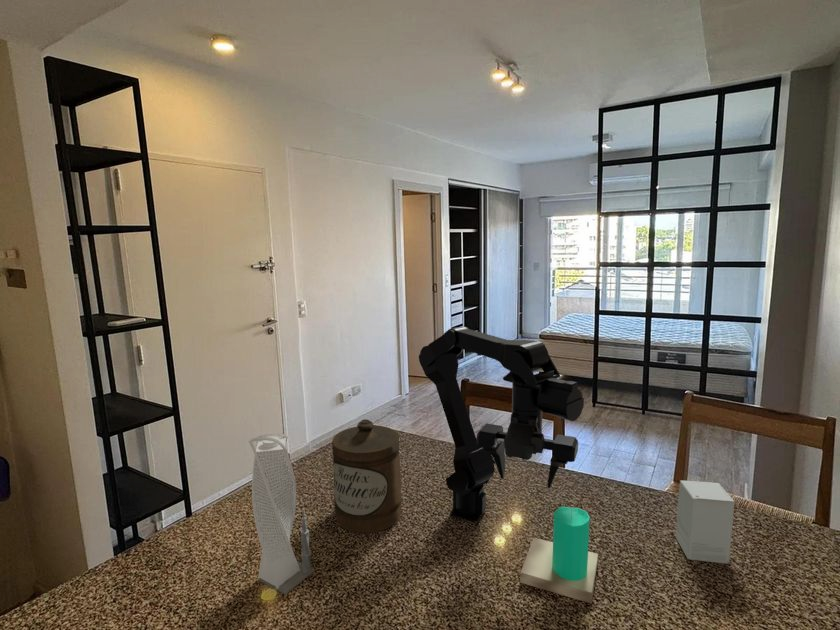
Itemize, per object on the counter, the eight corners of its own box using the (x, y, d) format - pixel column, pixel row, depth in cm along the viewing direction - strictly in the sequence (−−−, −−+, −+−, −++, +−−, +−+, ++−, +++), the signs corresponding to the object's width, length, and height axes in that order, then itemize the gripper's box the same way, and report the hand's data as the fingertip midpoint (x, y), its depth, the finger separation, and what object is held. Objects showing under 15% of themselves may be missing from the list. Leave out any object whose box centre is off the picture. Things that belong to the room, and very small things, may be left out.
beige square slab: (520, 582, 85) (520, 572, 84) (533, 546, 94) (533, 537, 94) (591, 603, 80) (592, 592, 79) (597, 563, 89) (597, 553, 89)
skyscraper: (278, 600, 81) (268, 445, 77) (247, 582, 85) (236, 434, 81) (314, 571, 88) (306, 427, 84) (283, 556, 92) (275, 419, 88)
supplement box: (730, 564, 89) (736, 502, 87) (686, 560, 90) (691, 498, 88) (714, 540, 96) (719, 482, 94) (674, 536, 97) (678, 478, 95)
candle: (592, 568, 85) (595, 506, 83) (578, 586, 81) (581, 521, 79) (561, 553, 89) (563, 494, 87) (546, 570, 85) (548, 507, 83)
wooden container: (322, 525, 103) (317, 428, 99) (356, 491, 116) (353, 405, 113) (383, 540, 97) (381, 438, 94) (412, 503, 111) (410, 413, 107)
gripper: (467, 413, 88) (467, 492, 90) (571, 429, 80) (568, 514, 83) (485, 395, 98) (484, 466, 100) (579, 408, 90) (576, 484, 93)
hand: (525, 482), depth 94 cm, fingers open, 9 cm apart
